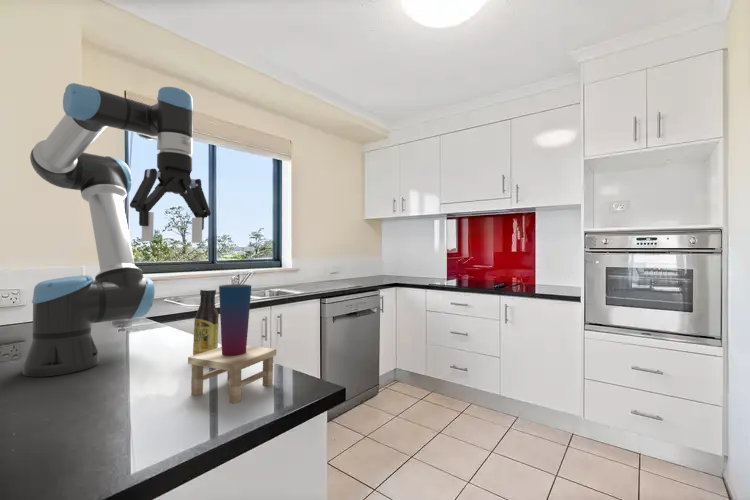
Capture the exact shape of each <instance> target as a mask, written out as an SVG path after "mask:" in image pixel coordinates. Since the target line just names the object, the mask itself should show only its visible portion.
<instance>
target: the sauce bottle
mask: <svg viewBox="0 0 750 500" xmlns="http://www.w3.org/2000/svg"><path fill="white" fill-rule="evenodd" d="M199 294H200V301H199V302H200V303H199V307H198V308H197V312H196V314H195V317H194V323H193V325H194V328H193V343H192V346H193V347H192V348H193V349H192V356H194V355H197V354H200V353H203V352H207V351H210V350H213V349H216V348H219V347H218V342H219V341H218V340H219V318H220V317H219V316H220V315H219V314H220V313H219V311H218V309H217V308H216V294H217V290H216V289H215V288H202V289H200V291H199Z"/></svg>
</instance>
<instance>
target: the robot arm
mask: <svg viewBox="0 0 750 500" xmlns="http://www.w3.org/2000/svg"><path fill="white" fill-rule="evenodd" d="M157 93H158V94H157V98H156V100H157V103H155V104H153V105H150V104H147V103H143V102H140V101H137V100H133V99H130V98H126V97H124V96H120V95H117V94H113V93H110V92H108V91H104V90H100V89H98V88H95V87H92V86H88V85H84V84H80V83H77V82H75V83H74V82H71V83H69V84H67V86H66V87H65V90H64V93H63V98H62V107H63V112H64V113H65V114H64V116H62V118H61V120H60V121H59V122H58V124H56V126H55V127H54V129H52V131H51V132H50V134H49V135H48V136H47V137H46V139H43V140H40V141H38V142H37V143H36V144H35V145H34V147H32V149H31V151H30V155H29V158H30V163H31V166H32V168H33V170H34V171H35V173H36V174H37V175H38V176H39V177H41V179H43V180H45V181H46V182H47V183H49V184H51V185H53V186H55V187H59V188H61V189H69V190H76V191H80V194H81V198H82V199H83V200H85V201H86V202H87V203H88V204H89V206H88V207H89V211H90V217H91V222H92V228H93V235H94V241H95V247H96V252H97V259H98V260H97V261H98V265H99V272H98V273H97V274H96V275H95V276H94V278H93V277H92V276H91V275H77V276H76V275H74V276H66V277H58V278H53V279H47V280H43V281H40V282H38V283H37V284H36V285H35V286H34V287H33V296H32V299H31V304H32V341H31V344H30V346H29V349H28V351H27V353H26V355H25V358H24V360H23V362H22V373H21V374H22V375H23V376H26V377H34V378H35V377H36V378H39V377H42V378H43V377H54V376H61V375H66V374H71V373H77V372H81V371H84V370H87V369H90V368H93V367H95V366H97V365H98V364H99V362H100V354H99V351H98V348H97V346H96V344H95V343H96V342H95V341H94V339H93V337H92V324H96V323H97V324H98V323H104V322H115V321H120V320H121V321H122V320H132V319H135V318H142V317H144V316H146V315H147V314H148V313H149V312H150V311H151V309H152V307H153V304H154V299H155V283H154V282H153V281H154V280H152V279H151V278H150V277H144V275H143V270H142V269H141V268H139V267H137V266H136V264H135V258H134V253H133V248H132V244H131V238H130V233H129V228H128V222H127V218H126V217H127V216H126V212H125V208H124V202H123V200H125V199H126V198H127V195H128V194H129V193H130V192H131V190H132V185H133V183H132V181H133V177H132V172H131V170H130V167H129V165H128V164H127V163H126V162H125V161H124V160H121V159H119V158H113V156H104V155H99V154H93V153H87V152H85V151H86V150H87V149H88V147H90V145H91V144H93V142H94V141H95V140H96V139H97V138H98V137H99V136H100V135H101V134H102V133H103V131H105V130H106V128H108V127H109V128H114V129H117V130H122V131H125V132H126V131H127V132H131V133H135V134H137V135H138V136H139V137H140V138H142V139H144V140H146V141H157V142H156V150H157V152H158V153H157V154H156V168H157V169H156V168H149V169H148V168H146V169H145V170H144V173H143V179H142V181H141V182H140V185H139V186H138V189H137V190H136V192H135V193H134V195H133V198H132V199H131V201H130V204H129V207H130V208H131V209H135V211H136V212H137V213H138V225H139V226H140V227H141V242H154V218H155V217H154V211H153V212H152V211H151V210H152V208H153V207H154V206H156V204H157V203H158V202H159V201H160V200H161V199H162V198H163V196H164V195H166V193H173V194H175V195H179V196H180V197H182V198H183V200H184V202H185V203H186V205H187V207H188V208H189V209H190V212H192V215H194V217H191V243H192V244H198V243H199V244H201V243H202V244H203V231H204V229H205V226H204V225H205V219H206V218H208V217H210V216H211V215H212V213H211V210H210V208H209V203H208V202H207V201H208V200H207V199H206V196H205V193H204V191H203V187H202V180H201V178H195V179H193V178H191V173H192V171H193V158H192V155H193V136H194V135H193V129H194V106H193V105H194V103H193V101H194V100H193V96H192V95H191V93H189V92H188V91H187V90H185V89H182V88H179V87H175V86H174V87H173V86H163V87H160V88H159V89H158V92H157ZM157 180H158V182H159V183H158V184H156V186H155V187H154V185H155V183H156V181H157ZM153 187H154V190H152V189H153ZM151 191H152V192H151ZM93 279H94V280H93Z"/></svg>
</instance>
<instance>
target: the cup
mask: <svg viewBox="0 0 750 500" xmlns="http://www.w3.org/2000/svg"><path fill="white" fill-rule="evenodd" d="M218 290H219V291H218V293H219V295H218V296H219V297H218V298H219V314H220V315H219V316H220V317H219V318H220V338H221V340H220V341H221V347H222V354H223V355H225V356H237V355H242V354H244V353H246V346H247V343H248V331H249V319H250V311H251V310H250V308H251V297H252V296H251V295H252V284H243V283H241V284H239V283H238V284H236V283H234V284H233V283H232V284H221V285H218Z"/></svg>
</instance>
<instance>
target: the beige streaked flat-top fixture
mask: <svg viewBox="0 0 750 500" xmlns="http://www.w3.org/2000/svg"><path fill="white" fill-rule="evenodd" d="M276 356H277V349H276V348H271V347H262V346H255V345H247V346H246V353H244V354H242V355H237V356H225V355H223V354H222V346H220V347H217V348H216V349H213V350H210V351H207V352H203V353H200V354H197V355H194V356H193V355H191V356H188V357H187V364H189V365H191V380H190V381H191V385H190V386H191V387H190V388H191V390H190V391H191V392H190V393H191V395H193V396H199V395H201V394H203V393H204V381H206V380H208V379H211V378H213V377H215V376H217V375H220V374H223V373H225V372H227V376H226V377H227V380H229V382H228V383H229V385H228V386H229V387H228V391H229V392H228V394H229V395H228V396H229V397H228V402H229V403H231V404H237V403H239V402H241V401H242V388H243V387H245V386H247V385H249V384H251V383H253V382H255V381H257V380H259V379H262V386H264V387H270V386H272V385H273V384H274V383H273V382H274V357H276ZM260 362H262V371H259V372H257V373H254V374H252V375H251V376H248V377H246V378H243V379H242V370H243V369H246V368H249V367H251V366H253V365H256V364H259V363H260ZM204 367H205V368H210V369H211V368H212V369H214V370H211V371H208V372H205V373H204Z"/></svg>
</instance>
